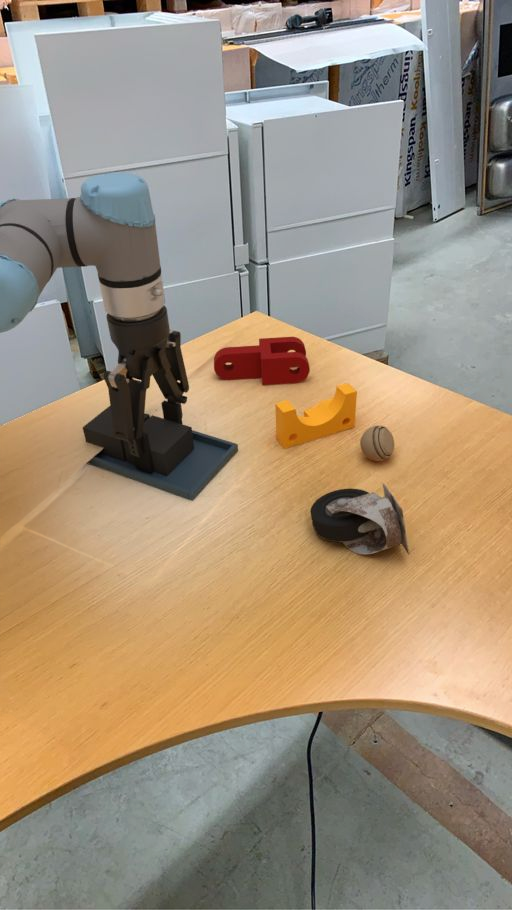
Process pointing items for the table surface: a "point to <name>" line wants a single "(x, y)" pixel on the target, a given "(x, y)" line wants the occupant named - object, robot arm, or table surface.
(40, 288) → the robot arm
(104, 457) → the dark blue tray
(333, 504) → the caster wheel
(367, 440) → the tan ball
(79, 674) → the table surface
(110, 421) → the pad
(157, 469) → the dark rectangular block
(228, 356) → the mechanical linkage
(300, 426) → the pipe clamp
